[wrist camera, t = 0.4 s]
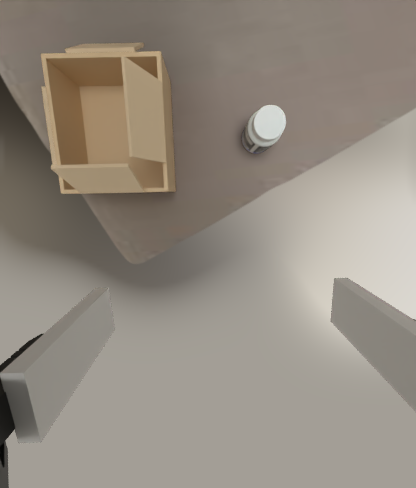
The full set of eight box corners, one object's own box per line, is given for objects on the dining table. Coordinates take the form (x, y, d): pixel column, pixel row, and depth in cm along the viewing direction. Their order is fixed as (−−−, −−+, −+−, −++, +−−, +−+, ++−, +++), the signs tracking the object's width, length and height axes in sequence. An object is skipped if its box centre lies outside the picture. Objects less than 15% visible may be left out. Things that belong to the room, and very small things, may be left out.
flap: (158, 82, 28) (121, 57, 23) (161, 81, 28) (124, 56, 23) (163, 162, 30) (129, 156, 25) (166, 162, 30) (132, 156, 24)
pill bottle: (276, 127, 37) (295, 109, 29) (264, 158, 38) (280, 148, 30) (247, 116, 37) (259, 94, 29) (236, 147, 38) (245, 134, 29)
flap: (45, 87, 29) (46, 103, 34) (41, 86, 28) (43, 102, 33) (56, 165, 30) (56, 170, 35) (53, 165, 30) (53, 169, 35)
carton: (76, 84, 36) (39, 53, 28) (170, 82, 36) (160, 51, 28) (89, 193, 39) (60, 193, 31) (175, 191, 39) (168, 191, 31)
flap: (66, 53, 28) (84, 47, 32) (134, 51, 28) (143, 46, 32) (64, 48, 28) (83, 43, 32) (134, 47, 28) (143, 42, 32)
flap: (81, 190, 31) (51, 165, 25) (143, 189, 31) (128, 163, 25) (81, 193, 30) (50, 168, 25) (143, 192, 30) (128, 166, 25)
